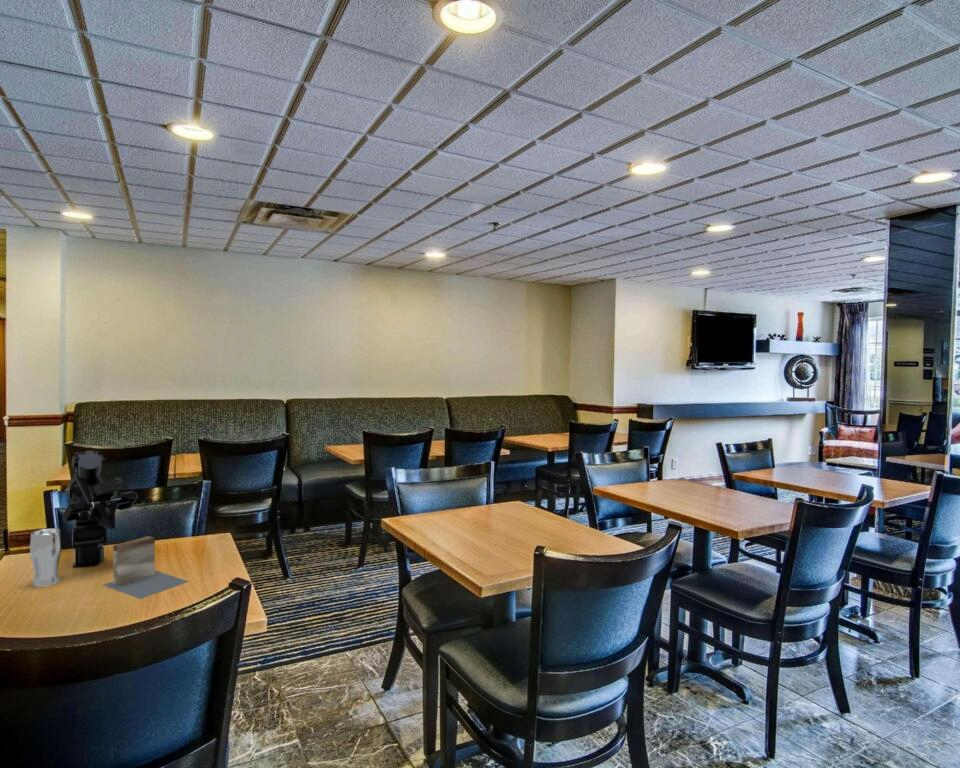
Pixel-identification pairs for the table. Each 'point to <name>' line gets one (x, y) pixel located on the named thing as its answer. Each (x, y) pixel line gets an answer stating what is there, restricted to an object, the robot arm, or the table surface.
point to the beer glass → (45, 556)
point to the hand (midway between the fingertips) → (113, 528)
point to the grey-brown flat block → (134, 560)
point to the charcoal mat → (148, 585)
